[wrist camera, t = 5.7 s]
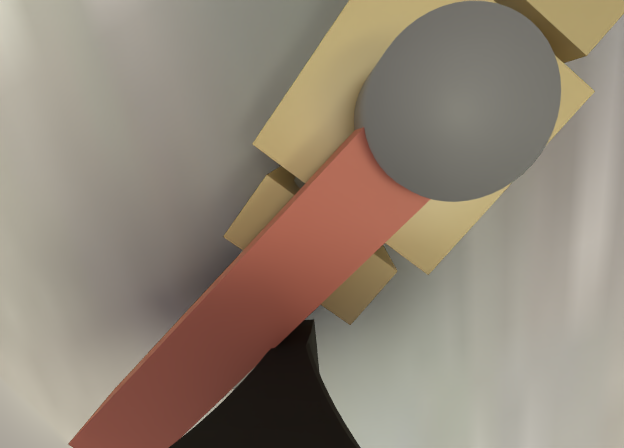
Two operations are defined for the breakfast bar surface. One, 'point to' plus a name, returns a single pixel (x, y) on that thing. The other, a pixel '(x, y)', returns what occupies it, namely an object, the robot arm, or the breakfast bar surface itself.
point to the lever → (353, 207)
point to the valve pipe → (340, 125)
